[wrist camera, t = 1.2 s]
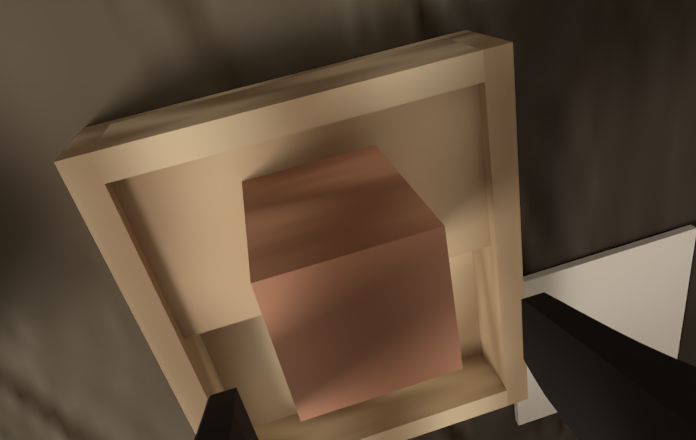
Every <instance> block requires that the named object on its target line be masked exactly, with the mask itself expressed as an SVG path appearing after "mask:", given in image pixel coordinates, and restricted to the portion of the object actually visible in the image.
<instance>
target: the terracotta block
mask: <svg viewBox="0 0 696 440" xmlns="http://www.w3.org/2000/svg"><path fill="white" fill-rule="evenodd" d="M242 191H243V202H244V213H245V225H246V236H247V248H248V259H249V270H250V282H251V286H252V289H253V291H254V294H255V297H256V300H257V302H258V305H259V308H260V311H261V313H262V316H263V319H264V322H265V324H266V327H267V330H268V333H269V335H270V338H271V341H272V344H273V346H274V349H275V352H276V355H277V357H278V360H279V363H280V366H281V368H282V371H283V374H284V377H285V379H286V382H287V385H288V388H289V390H290V393H291V396H292V399H293V401H294V404H295V407H296V410H297V412H298V415H299V418H300V421H305V420H308V419H311V418H314V417H317V416H320V415H323V414H326V413H329V412H332V411H335V410H338V409H341V408H344V407H347V406H350V405H354V404H357V403H360V402H363V401H366V400H369V399H372V398H375V397H378V396H381V395H384V394H387V393H390V392H393V391H396V390H399V389H403V388H406V387H409V386H412V385H415V384H418V383H421V382H424V381H427V380H430V379H433V378H436V377H439V376H442V375H445V374H449V373H452V372H455V371H458V370H461V369H463V366H462V359H461V351H460V343H459V335H458V327H457V319H456V311H455V303H454V295H453V287H452V279H451V271H450V264H449V256H448V248H447V240H446V232H445V226H444V225H443V223H442V222H441V221H440V220H439V219H438V218H437V216H436V215H435V214H434V213H433V212H432V211H431V209H430V208H429V207H428V206H427V205H426V204H425V202H424V201H423V200H422V199H421V198H420V197H419V195H418V194H417V193H416V192H415V191H414V190H413V188H412V187H411V186H410V185H409V184H408V183H407V181H406V180H405V179H404V178H403V177H402V176H401V174H400V173H399V172H398V171H397V170H396V169H395V167H394V166H393V165H392V164H391V163H390V162H389V160H388V159H387V158H386V157H385V156H384V155H383V153H382V152H381V151H380V150H379V149H378V148H377V146H376V145H373V146H369V147H366V148H362V149H358V150H355V151H351V152H347V153H344V154H340V155H336V156H333V157H329V158H326V159H322V160H318V161H315V162H311V163H307V164H304V165H300V166H296V167H293V168H289V169H285V170H282V171H278V172H275V173H271V174H267V175H264V176H260V177H256V178H253V179H249V180H245V181H242Z"/></svg>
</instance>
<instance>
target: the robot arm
mask: <svg viewBox="0 0 696 440" xmlns="http://www.w3.org/2000/svg"><path fill="white" fill-rule="evenodd" d="M521 305H522V333H523V360H524V361H525V363H526V365H527V366H528V368H529V370H530V372H531V373H532V375H533V377H534V379H535V380H536V382H537V383H538V385H539V387H540V388H541V390H542V392H543V393H544V395H545V396H546V398H547V399H548V400H549V402H550V403H551V404H552V406H553V407H554V408H555V409H556V411H557V412H558V413H559V415H560V416H561V417H562V419H563V420H564V421H565V422H566V424H567V425H568V426H569V428H570V429H571V430H572V431H573V433H574V434H575V435H576V437H577V438H578V439H579V440H696V367H694V366H692V365H690V364H687V363H685V362H682V361H680V360H678V359H675V358H673V357H671V356H669V355H666V354H664V353H662V352H660V351H658V350H655V349H653V348H651V347H649V346H647V345H644V344H642V343H640V342H638V341H636V340H634V339H632V338H630V337H628V336H626V335H624V334H622V333H620V332H618V331H616V330H614V329H612V328H610V327H608V326H606V325H604V324H603V323H601V322H599V321H597V320H595V319H593V318H591V317H589V316H587V315H586V314H584V313H582V312H580V311H578V310H576V309H575V308H573V307H571V306H569V305H567V304H565V303H563V302H562V301H560V300H558V299H556V298H554V297H552V296H550V295H548V294H547V293H545V292H543V293H540V294H537V295H533V296H530V297H527V298H524V299H521ZM194 440H259V439H258V437H257V435H256V432H255V430H254V428H253V425H252V423H251V421H250V418H249V416H248V414H247V411H246V409H245V407H244V404H243V402H242V400H241V397H240V395H239V392H238V390H237V388H236V387H235V388H232V389H229V390H226V391H222V392H219V393H216V394H213V395H210V397H209V399H208V400H207V403H206V406H205V410H204V413H203V416H202V419H201V422H200V425H199V428H198V430H197V433H196V436H195V439H194Z"/></svg>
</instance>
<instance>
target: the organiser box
mask: <svg viewBox="0 0 696 440" xmlns="http://www.w3.org/2000/svg"><path fill="white" fill-rule="evenodd" d="M373 145H376V146H377V148H378V149H379V150H380V151H381V152H382V153H383V155H384V156H385V157H386V158H387V159H388V160H389V162H390V163H391V164H392V165H393V166H394V167H395V169H396V170H397V171H398V172H399V173H400V174H401V176H402V177H403V178H404V179H405V180H406V181H407V183H408V184H409V185H410V186H411V187H412V188H413V190H414V191H415V192H416V193H417V194H418V195H419V197H420V198H421V199H422V200H423V201H424V202H425V204H426V205H427V206H428V207H429V208H430V209H431V211H432V212H433V213H434V214H435V215H436V216H437V218H438V219H439V220H440V221H441V222H442V223H443V225H444V226H445V232H446V240H447V248H448V256H449V264H450V271H451V279H452V287H453V295H454V303H455V311H456V319H457V327H458V335H459V343H460V351H461V359H462V366H463V369H461V370H458V371H455V372H452V373H449V374H445V375H442V376H439V377H436V378H433V379H430V380H427V381H424V382H421V383H418V384H415V385H412V386H409V387H406V388H403V389H399V390H396V391H393V392H390V393H387V394H384V395H381V396H378V397H375V398H372V399H369V400H366V401H363V402H360V403H357V404H354V405H350V406H347V407H344V408H341V409H338V410H335V411H332V412H329V413H326V414H323V415H320V416H317V417H314V418H311V419H308V420H305V421H300V418H299V415H298V412H297V410H296V407H295V404H294V401H293V399H292V396H291V393H290V390H289V388H288V385H287V382H286V379H285V377H284V374H283V371H282V368H281V366H280V363H279V360H278V357H277V355H276V352H275V349H274V346H273V344H272V341H271V338H270V335H269V333H268V330H267V327H266V324H265V322H264V319H263V316H262V313H261V311H260V308H259V305H258V302H257V300H256V297H255V294H254V291H253V289H252V286H251V282H250V270H249V259H248V248H247V236H246V225H245V213H244V202H243V191H242V181H245V180H249V179H253V178H256V177H260V176H264V175H267V174H271V173H275V172H278V171H282V170H285V169H289V168H293V167H296V166H300V165H304V164H307V163H311V162H315V161H318V160H322V159H326V158H329V157H333V156H336V155H340V154H344V153H347V152H351V151H355V150H358V149H362V148H366V147H369V146H373ZM54 163H55V165H56V167H57V169H58V171H59V173H60V175H61V177H62V179H63V181H64V183H65V184H66V186H67V188H68V190H69V192H70V194H71V196H72V198H73V200H74V202H75V204H76V206H77V207H78V209H79V211H80V213H81V215H82V217H83V219H84V221H85V223H86V225H87V227H88V229H89V231H90V232H91V234H92V236H93V238H94V240H95V242H96V244H97V246H98V248H99V250H100V252H101V254H102V256H103V257H104V259H105V261H106V263H107V265H108V267H109V269H110V271H111V273H112V275H113V277H114V279H115V280H116V282H117V284H118V286H119V288H120V290H121V292H122V294H123V296H124V298H125V300H126V302H127V304H128V305H129V307H130V309H131V311H132V313H133V315H134V317H135V319H136V321H137V323H138V325H139V327H140V329H141V330H142V332H143V334H144V336H145V338H146V340H147V342H148V344H149V346H150V348H151V350H152V352H153V353H154V355H155V357H156V359H157V361H158V363H159V365H160V367H161V369H162V371H163V373H164V375H165V377H166V378H167V380H168V382H169V384H170V386H171V388H172V390H173V392H174V394H175V396H176V398H177V400H178V402H179V403H180V405H181V407H182V409H183V411H184V413H185V415H186V417H187V419H188V421H189V423H190V425H191V426H192V428H193V430H194V432H195V434H196V433H197V430H198V428H199V425H200V422H201V419H202V416H203V413H204V410H205V406H206V403H207V400H208V399H209V397H210V395H213V394H216V393H219V392H222V391H226V390H229V389H232V388H235V387H236V388H237V390H238V392H239V395H240V397H241V400H242V402H243V404H244V407H245V409H246V411H247V414H248V416H249V418H250V421H251V423H252V425H253V428H254V430H255V432H256V435H257V437H258V439H259V440H408V439H411V438H414V437H417V436H420V435H423V434H426V433H429V432H432V431H435V430H437V429H440V428H443V427H446V426H449V425H452V424H455V423H458V422H461V421H464V420H467V419H470V418H473V417H476V416H479V415H482V414H485V413H488V412H491V411H494V410H497V409H500V408H503V407H506V406H509V405H512V404H515V403H518V402H520V401H523V400H526V399H528V384H527V365H526V363H525V361H524V360H523V333H522V305H521V299H524V290H523V266H522V243H521V219H520V196H519V172H518V149H517V125H516V102H515V78H514V55H513V42H511V41H507V40H503V39H499V38H495V37H491V36H487V35H483V34H480V33H476V32H472V31H468V30H463V31H459V32H455V33H452V34H448V35H444V36H440V37H436V38H432V39H428V40H424V41H420V42H416V43H412V44H409V45H405V46H401V47H397V48H393V49H389V50H385V51H381V52H377V53H373V54H370V55H366V56H362V57H358V58H354V59H350V60H346V61H342V62H338V63H334V64H331V65H327V66H323V67H319V68H315V69H311V70H307V71H303V72H299V73H295V74H291V75H288V76H284V77H280V78H276V79H272V80H268V81H264V82H260V83H256V84H252V85H249V86H245V87H241V88H237V89H233V90H229V91H225V92H221V93H217V94H213V95H209V96H206V97H202V98H198V99H194V100H190V101H186V102H182V103H178V104H174V105H170V106H167V107H163V108H159V109H155V110H151V111H147V112H143V113H139V114H135V115H131V116H127V117H124V118H120V119H116V120H112V121H108V122H104V123H100V124H96V125H92V126H88V127H85V128H83V129H82V130H81V131H80V133H79V134H78V135H77V136H76V137H75V138H74V139H73V141H72V142H71V143H70V144H69V145H68V146H67V147H66V149H65V150H64V151H63V152H62V153H61V154H60V156H59V157H58V158H57V159H56V160H55V161H54Z"/></svg>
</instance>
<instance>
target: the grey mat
mask: <svg viewBox="0 0 696 440" xmlns="http://www.w3.org/2000/svg"><path fill="white" fill-rule="evenodd" d="M695 238H696V227H694V226H692V225H687V226H684V227H681V228H678V229H675V230H671V231H668V232H665V233H662V234H658V235H655V236H652V237H649V238H646V239H642V240H639V241H636V242H633V243H630V244H626V245H623V246H620V247H617V248H613V249H610V250H607V251H604V252H601V253H597V254H594V255H591V256H588V257H585V258H581V259H578V260H575V261H572V262H569V263H565V264H562V265H559V266H556V267H552V268H549V269H546V270H543V271H540V272H536V273H533V274H530V275H527V276H524V277H523V290H524V298H527V297H530V296H533V295H537V294H540V293H543V292H545V293H547V294H548V295H550V296H552V297H554V298H556V299H558V300H560V301H562V302H563V303H565V304H567V305H569V306H571V307H573V308H575V309H576V310H578V311H580V312H582V313H584V314H586V315H587V316H589V317H591V318H593V319H595V320H597V321H599V322H601V323H603V324H604V325H606V326H608V327H610V328H612V329H614V330H616V331H618V332H620V333H622V334H624V335H626V336H628V337H630V338H632V339H634V340H636V341H638V342H640V343H642V344H644V345H647V346H649V347H651V348H653V349H655V350H658V351H660V352H662V353H664V354H666V355H669V356H671V357H673V358H675V359H677V357H678V350H679V343H680V337H681V330H682V324H683V317H684V311H685V304H686V297H687V291H688V284H689V278H690V271H691V265H692V258H693V251H694V245H695ZM527 384H528V399H526V400H523V401H520V402H518V403H515V404H514V408H515V420H516V422H517V424H518V425H522V424H525V423H528V422H530V421H533V420H536V419H539V418H542V417H545V416H548V415H551V414H554V413H557V411H556V409H555V408H554V407H553V406H552V404H551V403H550V402H549V400H548V399H547V398H546V396H545V395H544V393H543V392H542V390H541V388H540V387H539V385H538V383H537V382H536V380H535V379H534V377H533V375H532V373H531V372H530V370H529V368H528V366H527Z"/></svg>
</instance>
